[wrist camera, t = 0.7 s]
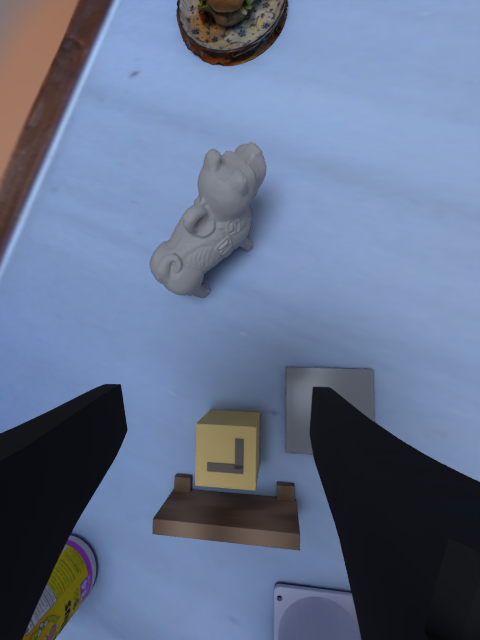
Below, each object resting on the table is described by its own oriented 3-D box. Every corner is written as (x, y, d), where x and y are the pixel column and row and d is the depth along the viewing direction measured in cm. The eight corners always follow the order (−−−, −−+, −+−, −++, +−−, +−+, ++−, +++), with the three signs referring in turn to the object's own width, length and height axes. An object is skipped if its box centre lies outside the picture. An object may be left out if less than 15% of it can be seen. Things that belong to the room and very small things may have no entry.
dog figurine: (281, 216, 29) (284, 147, 19) (199, 310, 30) (156, 294, 19) (243, 185, 30) (225, 102, 20) (163, 277, 31) (103, 244, 20)
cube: (259, 463, 28) (255, 491, 23) (209, 460, 29) (194, 486, 24) (260, 411, 28) (256, 427, 23) (210, 409, 29) (196, 424, 24)
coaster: (373, 456, 27) (375, 458, 26) (285, 450, 28) (285, 452, 27) (371, 368, 27) (373, 369, 27) (285, 366, 28) (286, 367, 28)
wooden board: (296, 483, 27) (300, 515, 22) (296, 527, 27) (299, 569, 22) (174, 473, 29) (153, 501, 24) (173, 515, 29) (151, 551, 24)
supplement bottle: (72, 613, 29) (-86, 822, 17) (29, 564, 30) (-150, 727, 18) (112, 565, 29) (-16, 738, 16) (68, 517, 30) (-85, 646, 17)
